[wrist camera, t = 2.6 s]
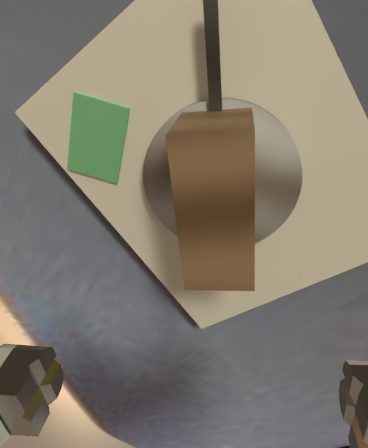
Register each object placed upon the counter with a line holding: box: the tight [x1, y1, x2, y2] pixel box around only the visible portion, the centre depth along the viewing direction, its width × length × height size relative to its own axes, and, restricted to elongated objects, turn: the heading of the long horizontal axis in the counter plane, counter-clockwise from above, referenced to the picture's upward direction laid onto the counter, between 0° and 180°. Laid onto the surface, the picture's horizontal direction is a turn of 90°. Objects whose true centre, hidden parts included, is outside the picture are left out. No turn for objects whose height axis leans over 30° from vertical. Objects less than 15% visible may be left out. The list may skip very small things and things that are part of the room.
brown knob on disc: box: [143, 0, 302, 291], centre depth 19 cm, size 15×10×6 cm, turn 5°
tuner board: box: [15, 0, 368, 329], centre depth 24 cm, size 22×18×2 cm
